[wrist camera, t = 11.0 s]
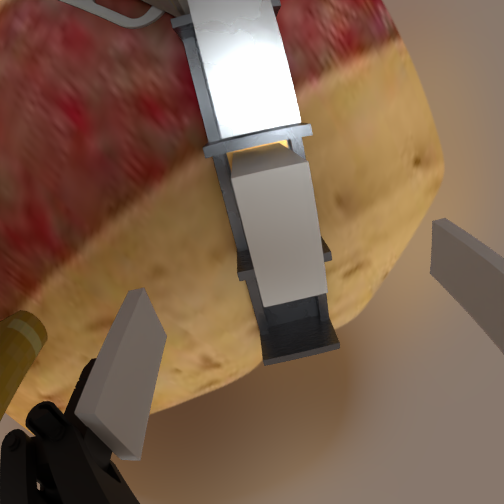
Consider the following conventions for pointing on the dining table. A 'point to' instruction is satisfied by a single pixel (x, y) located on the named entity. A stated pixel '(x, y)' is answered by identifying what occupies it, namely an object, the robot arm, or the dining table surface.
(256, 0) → the rack
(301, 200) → the block
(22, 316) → the book
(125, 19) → the network device
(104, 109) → the dining table surface
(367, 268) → the dining table surface
